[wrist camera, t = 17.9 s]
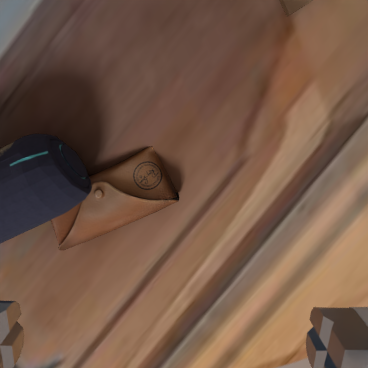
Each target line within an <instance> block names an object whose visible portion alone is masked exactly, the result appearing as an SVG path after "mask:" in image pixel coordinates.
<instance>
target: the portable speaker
mask: <svg viewBox="0 0 368 368" xmlns="http://www.w3.org/2000/svg"><path fill="white" fill-rule="evenodd" d="M91 190H92V184H91V180H90V178H89V176H88V174H87V170H86V167H85V166H84V164H83V163H82V161H81V160H80V158H79V157H78V155H77V153H76V152H75V151H73V150H72V149H71V148H70V147H69V146H67V145H66V144H65V143H64V142H62V141H61V140H60V139H58V138H57V137H55V136H52V135H46V134H32V135H28V136H24V137H22V138H20V139H18V140H16V141H15V142H13V143H11V144H9V145H7V146H5V147H3V148H1V149H0V243H2V242H4V241H6V240H9V239H11V238H13V237H15V236H17V235H19V234H21V233H24V232H26V231H28V230H30V229H32V228H34V227H36V226H39V225H41V224H43V223H45V222H47V221H49V220H51V219H54V218H56V217H58V216H60V215H62V214H64V213H66V212H68V211H69V210H71V209H72V208H74V207H75V206H76V205H78V204H79V203H81V202H82V201H83V200H85V199H86V197H87V196H88V195H89V193H90V192H91Z"/></svg>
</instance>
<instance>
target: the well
mask: <svg viewBox="0 0 368 368" xmlns="http://www.w3.org/2000/svg"><path fill="white" fill-rule="evenodd" d="M311 1H313V0H280V2H281V4H282V7H283V9H284V11H285V13H286V15H287V16H289V15H291V14H292V13H294V12H295V11H297V10H298V9H300V8H302V7H303V6H305V5H306V4H308V3H309V2H311Z"/></svg>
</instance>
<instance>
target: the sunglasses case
mask: <svg viewBox="0 0 368 368" xmlns="http://www.w3.org/2000/svg"><path fill="white" fill-rule="evenodd" d="M153 149H154V148H153V147H148V148H146V149H144V150H142V151H141V152H139V153H137V154H135V155H133V156H132V157H130V158H128V159H126V160H124V161H123V162H120V163H118V164H116V165H114V166H112V167H110V168H107V169H105V170H103V171H101V172H99V173H96V174H94V175H91V176H89V178H90V180H91V184H92V190H91V192H90V193H89V195H88V196H87V197H86V199H85V200H83V201H82V202H81V203H79V204H78V205H76V206H75V207H74V208H72V209H71V210H69V211H68V212H66V213H64V214H62V215H60V216H58V217H56V218H54V219H51V222H52V225H53V228H54V231H55V234H56V237H57V240H58V243H59V247H58V248H59V250H66V249H68V248H70V247H73V246H76V245H78V244H81V243H83V242H86V241H89V240H91V239H93V238H96V237H98V236H101V235H103V234H105V233H108V232H110V231H112V230H115V229H117V228H119V227H122V226H124V225H127V224H129V223H131V222H134V221H136V220H139V219H141V218H143V217H145V216H148V215H150V214H152V213H154V212H157V211H159V210H161V209H163V208H165V207H167V206H169V205H171V204H173V203H175V202H178V201H179V194H178V193H177V192H176V190H175V187H174V186H173V184H172V182H171V180H170V178H169V176H168V175H167V173H166V171H165V169H164V167H163V165H162V163H161V161H160V160H159V158H158V156H157V155H156V153H155V152H154V151H153Z"/></svg>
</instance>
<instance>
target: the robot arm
mask: <svg viewBox="0 0 368 368" xmlns="http://www.w3.org/2000/svg"><path fill="white" fill-rule="evenodd" d="M20 316H21V309H20V304H19V303H18V302H16V301H0V368H12V367H14V366H15V364H16V362H17V361H18V359H19V357H20V354H21V351H22V348H23V345H24V329H23V327H22V326H21V325H20V324H19V323H18V322H17V320H18V319H19V317H20ZM310 321H311V323H312V325H313V326H314V327H313V328H312V329H311V330H310V331H309V332H308V333H307V339H306V349H307V356H308V359H309V362H310V364H311V367H312V368H368V307H349V308H326V307H314V308H313V309H312V311H311V315H310Z"/></svg>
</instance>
